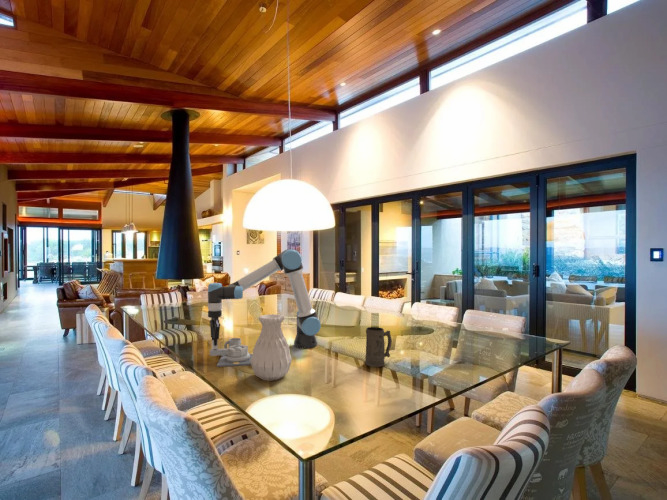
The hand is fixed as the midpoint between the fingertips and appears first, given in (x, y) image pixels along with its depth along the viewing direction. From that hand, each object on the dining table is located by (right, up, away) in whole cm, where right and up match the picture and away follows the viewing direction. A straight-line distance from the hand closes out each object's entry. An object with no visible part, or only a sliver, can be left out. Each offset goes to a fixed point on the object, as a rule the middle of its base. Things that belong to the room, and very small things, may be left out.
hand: (214, 350), depth 207 cm
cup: (+8, -5, +8) cm, 12 cm away
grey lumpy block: (+10, -1, -5) cm, 11 cm away
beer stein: (+94, -5, -9) cm, 94 cm away
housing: (+15, -5, -5) cm, 16 cm away
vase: (+38, -5, -30) cm, 48 cm away
